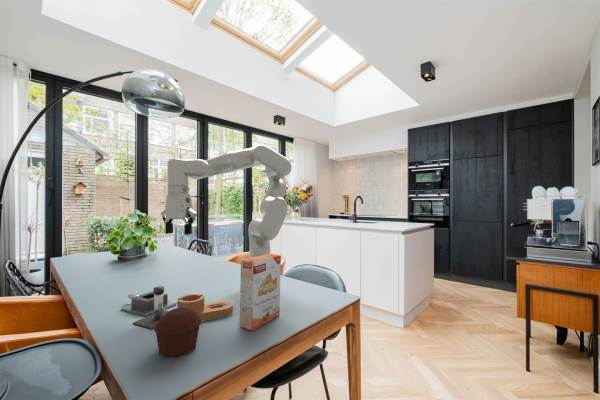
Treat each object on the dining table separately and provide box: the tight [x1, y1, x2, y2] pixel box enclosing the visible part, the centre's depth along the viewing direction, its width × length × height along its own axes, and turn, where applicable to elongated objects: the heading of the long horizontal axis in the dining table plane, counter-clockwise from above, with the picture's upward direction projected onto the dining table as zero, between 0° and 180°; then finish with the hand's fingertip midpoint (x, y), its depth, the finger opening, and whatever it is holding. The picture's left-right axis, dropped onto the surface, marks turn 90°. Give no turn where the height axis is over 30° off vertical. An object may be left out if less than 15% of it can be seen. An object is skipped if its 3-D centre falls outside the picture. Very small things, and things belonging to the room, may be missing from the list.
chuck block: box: [120, 290, 178, 317], centre depth 98 cm, size 18×12×4 cm, turn 66°
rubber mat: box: [132, 310, 170, 331], centre depth 87 cm, size 9×11×1 cm
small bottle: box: [152, 285, 165, 320], centre depth 87 cm, size 3×3×10 cm
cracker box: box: [238, 253, 282, 332], centre depth 87 cm, size 14×6×21 cm, turn 148°
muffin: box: [153, 307, 202, 359], centre depth 70 cm, size 12×11×10 cm
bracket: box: [176, 293, 234, 322], centre depth 91 cm, size 18×8×7 cm, turn 119°
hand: (178, 233), depth 105 cm, fingers open, 9 cm apart
